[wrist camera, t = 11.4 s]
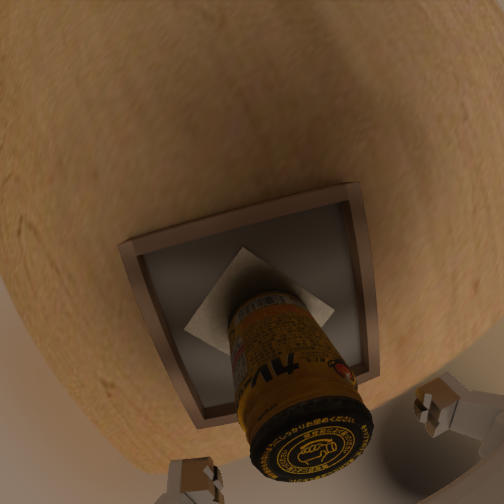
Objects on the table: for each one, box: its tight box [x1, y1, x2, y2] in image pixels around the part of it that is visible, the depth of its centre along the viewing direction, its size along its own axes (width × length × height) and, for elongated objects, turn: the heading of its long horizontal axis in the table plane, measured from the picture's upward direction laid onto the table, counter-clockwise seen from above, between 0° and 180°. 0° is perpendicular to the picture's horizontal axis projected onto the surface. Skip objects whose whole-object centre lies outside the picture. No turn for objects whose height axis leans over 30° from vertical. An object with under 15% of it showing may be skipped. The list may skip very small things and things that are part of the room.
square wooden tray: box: [118, 182, 380, 429], centre depth 20 cm, size 16×16×2 cm
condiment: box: [184, 247, 374, 482], centre depth 15 cm, size 7×8×12 cm
